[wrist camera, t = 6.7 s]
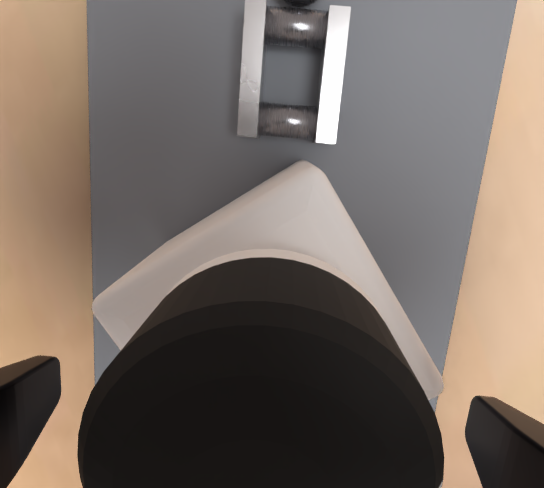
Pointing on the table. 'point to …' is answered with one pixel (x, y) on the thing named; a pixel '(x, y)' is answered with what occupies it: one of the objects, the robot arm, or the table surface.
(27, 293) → the table surface
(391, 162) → the rubber mat
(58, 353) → the table surface
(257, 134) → the chain ends
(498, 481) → the robot arm
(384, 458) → the medicine bottle
